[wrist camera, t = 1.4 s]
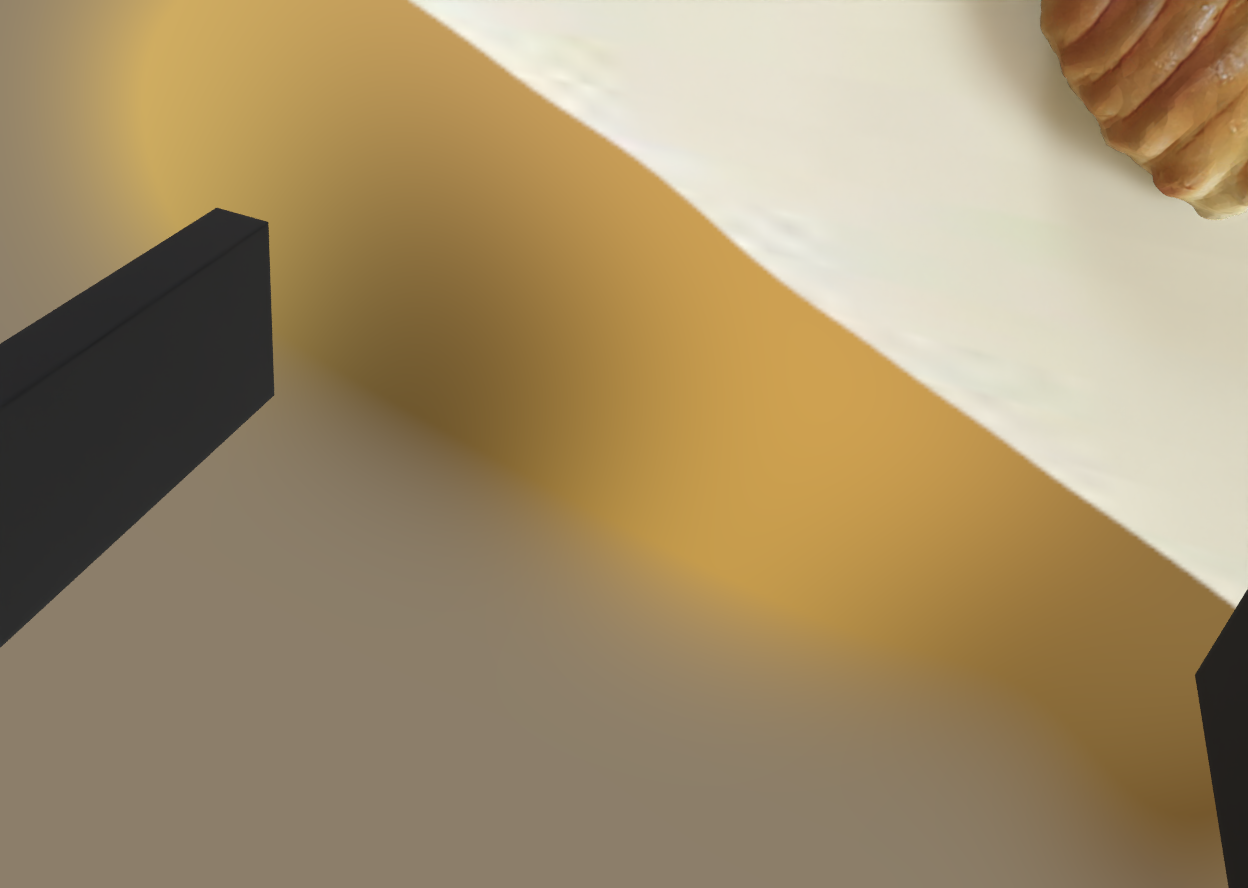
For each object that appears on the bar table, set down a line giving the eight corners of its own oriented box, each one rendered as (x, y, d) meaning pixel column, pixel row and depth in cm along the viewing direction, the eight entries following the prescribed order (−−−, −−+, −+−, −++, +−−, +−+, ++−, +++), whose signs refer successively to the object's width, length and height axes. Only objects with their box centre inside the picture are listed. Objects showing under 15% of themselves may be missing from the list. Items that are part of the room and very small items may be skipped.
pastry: (989, 41, 37) (975, 63, 34) (1151, -160, 33) (1153, -157, 30) (1223, 224, 37) (1231, 262, 34) (1413, 44, 33) (1443, 68, 30)
